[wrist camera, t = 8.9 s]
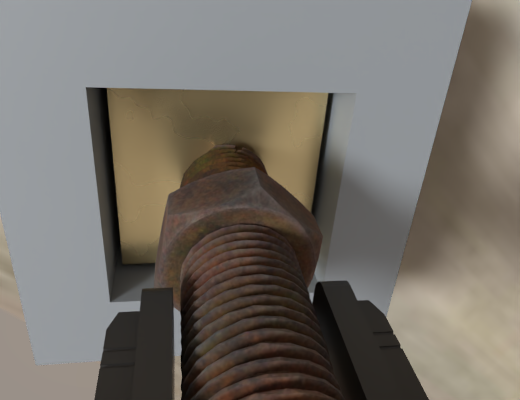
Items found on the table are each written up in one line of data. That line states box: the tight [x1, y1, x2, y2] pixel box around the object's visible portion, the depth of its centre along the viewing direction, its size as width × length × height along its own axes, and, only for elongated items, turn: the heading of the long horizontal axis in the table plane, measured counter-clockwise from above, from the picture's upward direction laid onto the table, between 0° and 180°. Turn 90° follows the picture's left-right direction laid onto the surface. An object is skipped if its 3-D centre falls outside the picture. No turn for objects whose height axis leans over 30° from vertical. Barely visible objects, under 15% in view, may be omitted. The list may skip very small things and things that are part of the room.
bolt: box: [154, 144, 345, 400], centre depth 11 cm, size 6×5×15 cm
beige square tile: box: [107, 88, 328, 264], centre depth 18 cm, size 7×7×2 cm
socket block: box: [0, 0, 472, 365], centre depth 19 cm, size 14×14×6 cm
